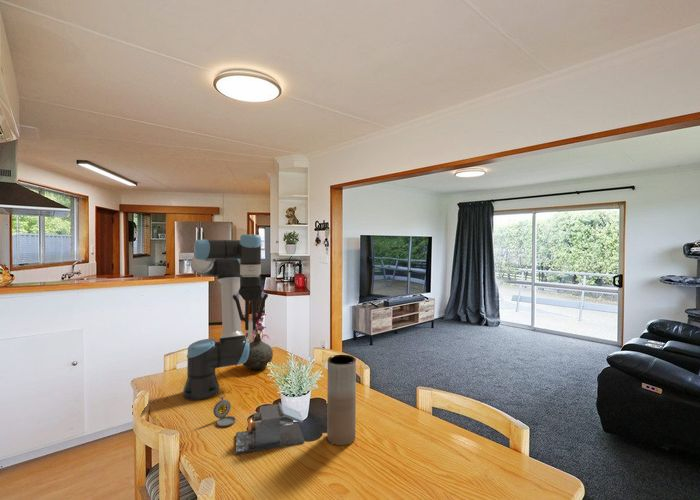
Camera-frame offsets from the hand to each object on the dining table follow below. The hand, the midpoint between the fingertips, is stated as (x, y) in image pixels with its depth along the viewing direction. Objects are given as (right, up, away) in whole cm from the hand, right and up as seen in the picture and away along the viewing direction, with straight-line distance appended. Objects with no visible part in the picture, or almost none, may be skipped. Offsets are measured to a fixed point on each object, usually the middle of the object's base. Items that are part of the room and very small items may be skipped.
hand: (250, 338), depth 127 cm
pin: (+10, -30, -9) cm, 32 cm away
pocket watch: (-10, -33, +2) cm, 34 cm away
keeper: (+13, -23, -8) cm, 27 cm away
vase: (-14, -32, +59) cm, 69 cm away
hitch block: (+8, -33, -9) cm, 35 cm away
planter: (+34, -33, -8) cm, 48 cm away
